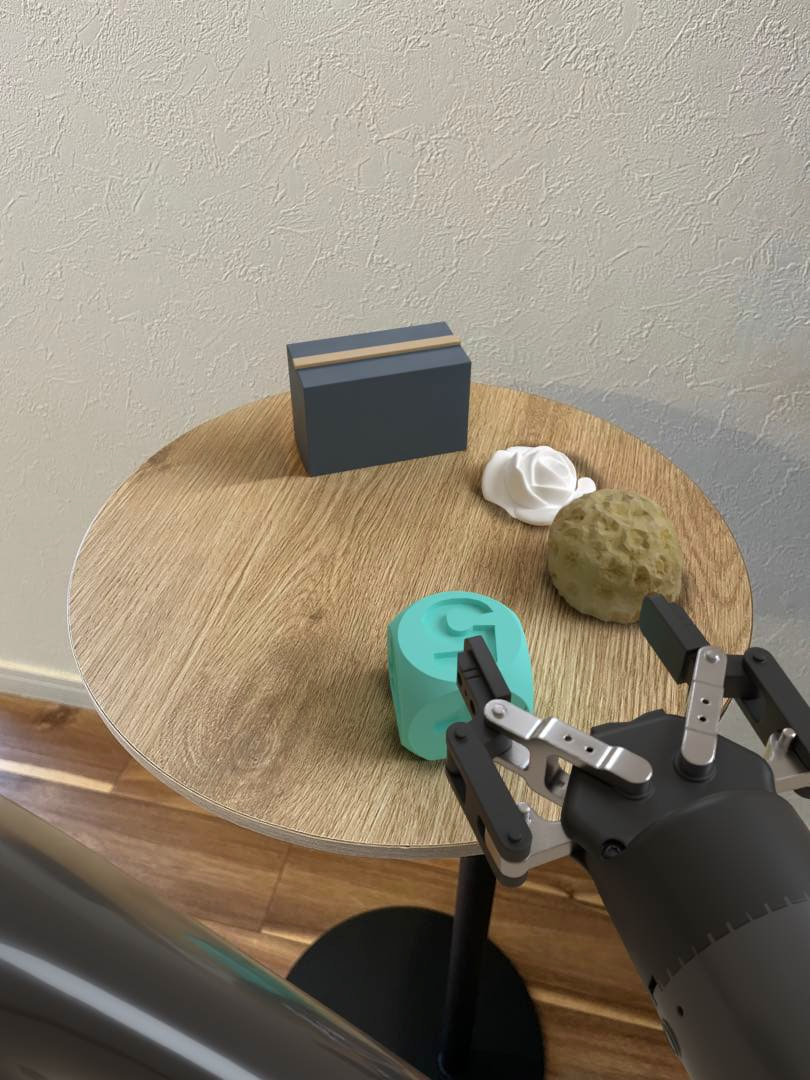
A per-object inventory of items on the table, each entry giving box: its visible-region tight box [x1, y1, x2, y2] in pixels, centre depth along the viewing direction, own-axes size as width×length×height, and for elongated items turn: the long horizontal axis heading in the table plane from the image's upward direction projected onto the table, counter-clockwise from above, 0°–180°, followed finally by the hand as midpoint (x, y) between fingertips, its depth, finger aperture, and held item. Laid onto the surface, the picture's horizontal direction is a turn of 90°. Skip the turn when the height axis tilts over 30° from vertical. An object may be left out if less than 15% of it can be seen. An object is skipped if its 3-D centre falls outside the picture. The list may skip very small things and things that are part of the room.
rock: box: [547, 487, 685, 625], centre depth 71 cm, size 10×11×10 cm
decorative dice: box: [386, 590, 535, 761], centre depth 62 cm, size 8×8×8 cm
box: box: [286, 321, 473, 478], centre depth 83 cm, size 14×7×10 cm, turn 106°
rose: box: [481, 445, 597, 527], centre depth 80 cm, size 10×4×10 cm
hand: (560, 628), depth 43 cm, fingers open, 8 cm apart
